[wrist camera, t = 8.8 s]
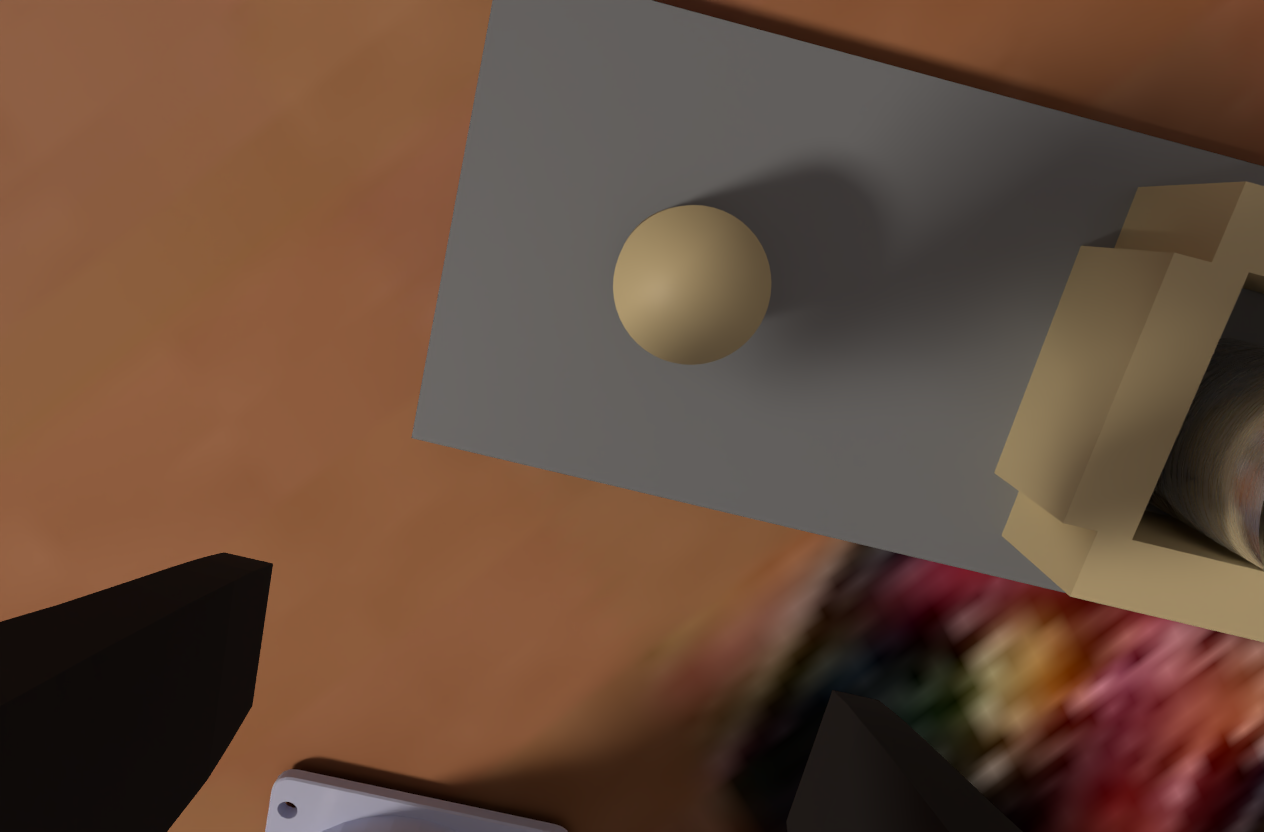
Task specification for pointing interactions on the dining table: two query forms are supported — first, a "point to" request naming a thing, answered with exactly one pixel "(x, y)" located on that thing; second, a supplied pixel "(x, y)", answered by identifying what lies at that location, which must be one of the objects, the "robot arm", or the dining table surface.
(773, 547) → the dining table surface
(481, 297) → the board
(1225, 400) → the cylinder
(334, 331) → the dining table surface
